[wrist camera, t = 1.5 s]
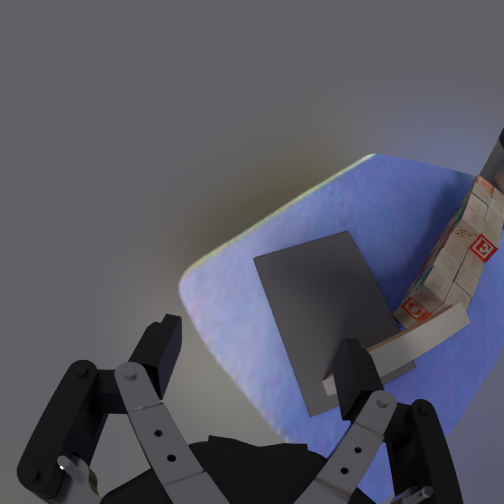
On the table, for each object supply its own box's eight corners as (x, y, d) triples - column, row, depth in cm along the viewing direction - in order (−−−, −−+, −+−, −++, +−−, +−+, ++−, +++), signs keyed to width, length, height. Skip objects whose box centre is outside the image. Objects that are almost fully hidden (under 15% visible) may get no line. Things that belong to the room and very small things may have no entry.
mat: (414, 367, 28) (415, 366, 27) (310, 416, 26) (310, 417, 26) (346, 232, 39) (347, 230, 38) (253, 260, 37) (253, 258, 37)
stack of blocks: (422, 345, 29) (479, 308, 19) (389, 315, 32) (435, 267, 22) (472, 246, 36) (509, 198, 26) (446, 223, 39) (478, 172, 29)
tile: (395, 364, 28) (470, 322, 15) (327, 395, 27) (376, 379, 14) (389, 348, 29) (459, 298, 16) (321, 379, 28) (363, 349, 15)
